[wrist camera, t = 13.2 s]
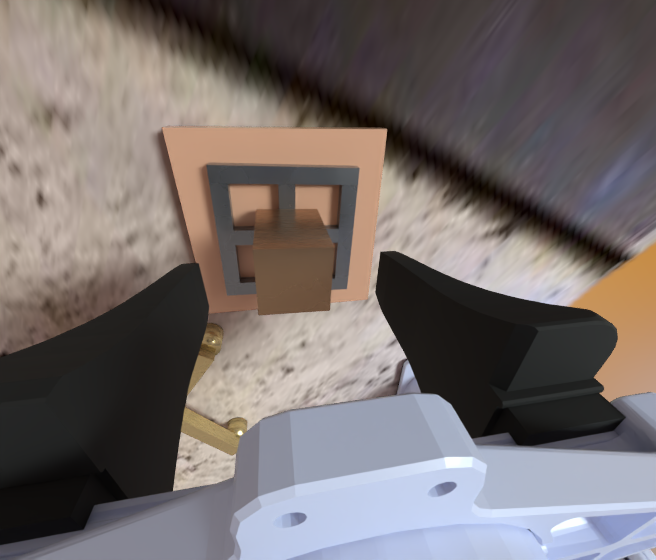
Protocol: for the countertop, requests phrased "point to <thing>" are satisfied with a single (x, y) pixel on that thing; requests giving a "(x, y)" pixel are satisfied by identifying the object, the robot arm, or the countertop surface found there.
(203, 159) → the tile
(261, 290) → the grey window frame
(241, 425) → the brass bent rod
